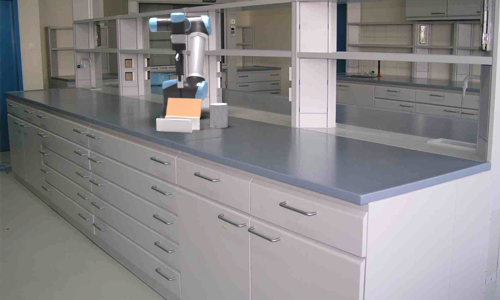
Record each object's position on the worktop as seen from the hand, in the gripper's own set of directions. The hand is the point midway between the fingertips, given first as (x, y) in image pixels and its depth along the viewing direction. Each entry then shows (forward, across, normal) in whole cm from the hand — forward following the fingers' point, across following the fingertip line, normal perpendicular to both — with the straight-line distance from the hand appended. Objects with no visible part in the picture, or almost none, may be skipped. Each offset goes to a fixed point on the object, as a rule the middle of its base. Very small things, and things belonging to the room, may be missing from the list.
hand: (180, 87), depth 295 cm
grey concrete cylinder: (+21, +1, +20) cm, 30 cm away
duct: (+21, +14, +1) cm, 25 cm away
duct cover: (+10, +8, +3) cm, 13 cm away
